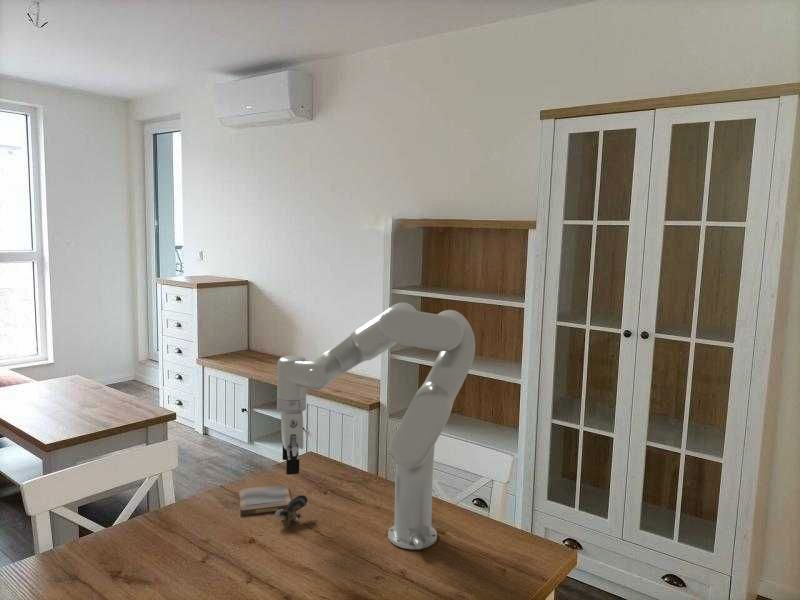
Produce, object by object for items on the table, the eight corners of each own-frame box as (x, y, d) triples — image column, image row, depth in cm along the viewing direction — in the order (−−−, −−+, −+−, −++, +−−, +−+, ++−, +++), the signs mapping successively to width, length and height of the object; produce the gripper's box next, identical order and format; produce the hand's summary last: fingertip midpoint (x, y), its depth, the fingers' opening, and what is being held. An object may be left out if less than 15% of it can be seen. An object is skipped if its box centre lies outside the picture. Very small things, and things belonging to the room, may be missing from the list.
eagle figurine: (306, 526, 153) (314, 504, 162) (290, 506, 152) (299, 485, 160) (283, 538, 155) (292, 516, 163) (267, 518, 153) (277, 497, 162)
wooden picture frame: (292, 510, 164) (292, 504, 164) (240, 516, 160) (240, 510, 160) (286, 488, 178) (286, 483, 178) (239, 493, 174) (239, 488, 174)
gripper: (310, 412, 146) (309, 478, 148) (301, 393, 162) (300, 453, 164) (280, 414, 144) (279, 481, 146) (274, 395, 160) (273, 455, 162)
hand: (290, 466), depth 155 cm, fingers open, 9 cm apart
